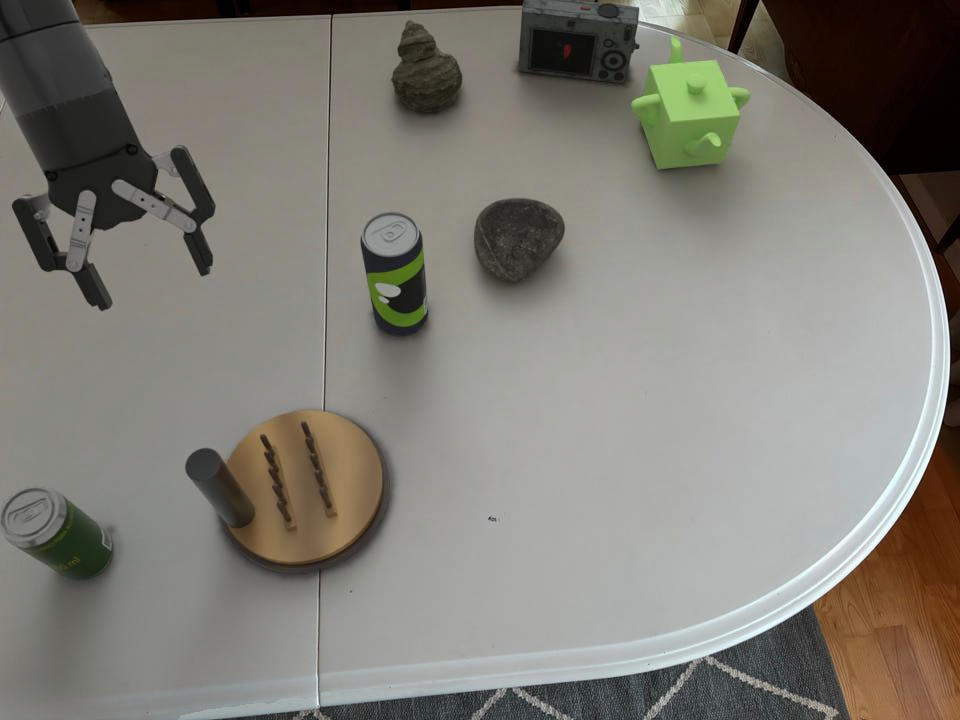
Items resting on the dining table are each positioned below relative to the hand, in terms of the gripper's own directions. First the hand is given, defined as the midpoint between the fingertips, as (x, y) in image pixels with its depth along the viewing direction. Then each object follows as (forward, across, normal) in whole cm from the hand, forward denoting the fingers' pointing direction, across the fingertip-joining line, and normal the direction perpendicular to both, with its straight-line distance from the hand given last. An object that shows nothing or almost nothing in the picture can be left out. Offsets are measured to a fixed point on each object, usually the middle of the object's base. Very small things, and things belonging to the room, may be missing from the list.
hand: (157, 290), depth 67 cm
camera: (0, +57, +43) cm, 71 cm away
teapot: (+11, +63, +29) cm, 70 cm away
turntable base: (+25, +4, +3) cm, 25 cm away
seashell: (-3, +35, +44) cm, 56 cm away
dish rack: (+24, +4, +2) cm, 24 cm away
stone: (+15, +36, +20) cm, 44 cm away
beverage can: (+16, +20, +17) cm, 31 cm away
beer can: (+23, -18, +3) cm, 29 cm away
